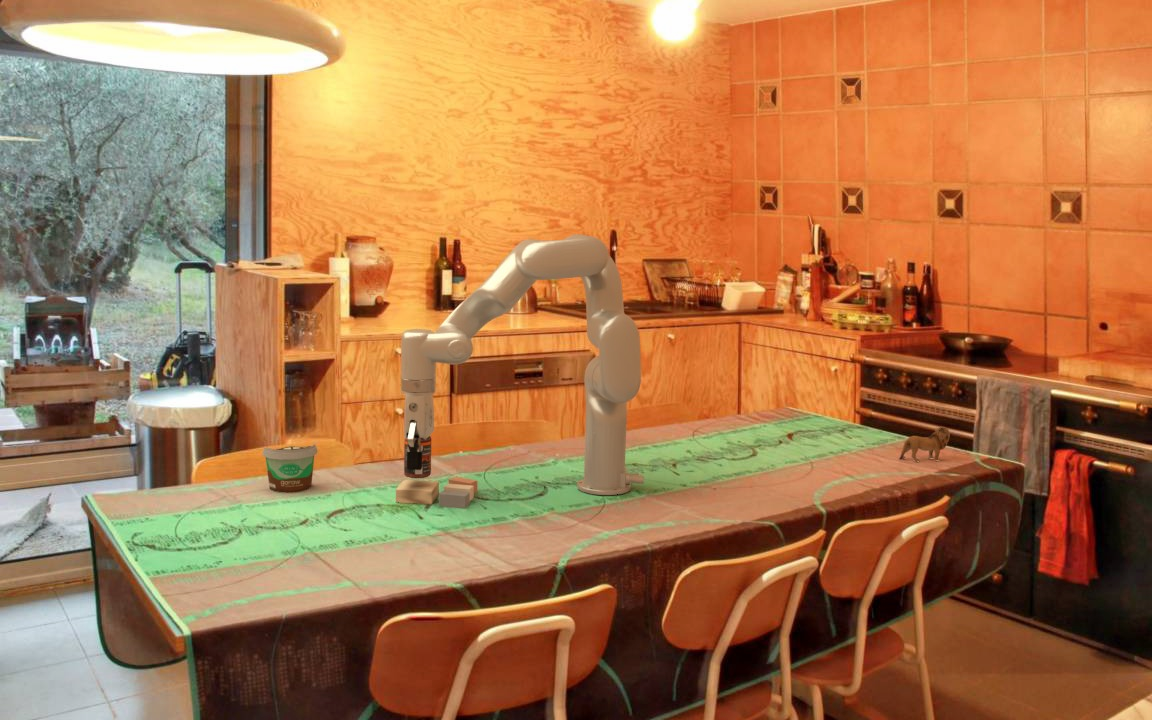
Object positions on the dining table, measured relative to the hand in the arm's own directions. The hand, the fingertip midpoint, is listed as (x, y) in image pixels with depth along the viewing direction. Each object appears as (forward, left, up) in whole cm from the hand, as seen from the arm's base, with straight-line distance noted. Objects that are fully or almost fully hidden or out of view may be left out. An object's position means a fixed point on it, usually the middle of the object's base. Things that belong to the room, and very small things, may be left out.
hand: (417, 464), depth 235 cm
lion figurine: (-126, -58, -8) cm, 138 cm away
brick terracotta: (-9, -7, -8) cm, 14 cm away
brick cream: (-9, -2, -8) cm, 12 cm away
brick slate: (-9, +4, -8) cm, 13 cm away
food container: (+29, -2, -8) cm, 30 cm away
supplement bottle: (0, 0, -3) cm, 3 cm away
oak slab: (0, 0, -8) cm, 8 cm away
